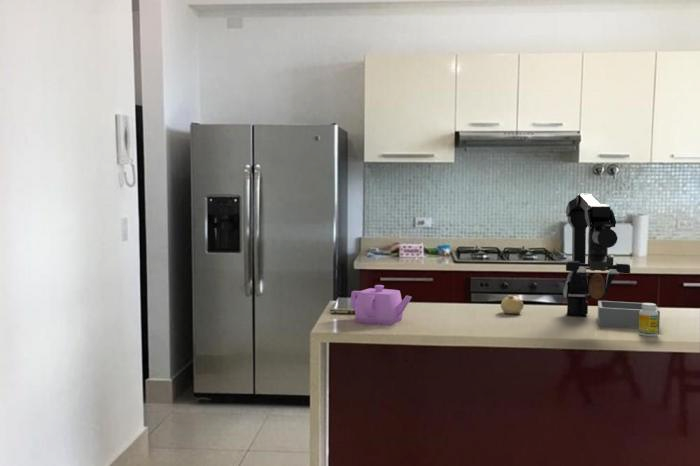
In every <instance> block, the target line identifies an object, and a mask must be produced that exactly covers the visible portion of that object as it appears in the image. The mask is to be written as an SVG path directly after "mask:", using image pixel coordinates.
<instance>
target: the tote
mask: <svg viewBox="0 0 700 466" xmlns="http://www.w3.org/2000/svg"><path fill="white" fill-rule="evenodd" d="M642 303H643V302H631V301H630V302H628V301H610V300H597V322H598V326H599V327H614V328H624V329H625V328H627V329H628V328H629V329H639V312H640V310H643V309H642ZM655 311H657V312H658V331H659V330H660V319H661V318H660V316H661V315H660V314H661V311H660V309H659V308H658V305H656V309H655Z"/></svg>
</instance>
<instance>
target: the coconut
mask: <svg viewBox="0 0 700 466" xmlns="http://www.w3.org/2000/svg"><path fill="white" fill-rule="evenodd" d="M605 288H606V281H605V278H603V276H602V275H601V274H600V273H595V274H593V275H592V276H590V281H589V284H588V291H589V294H590V296H591V298H593V299H595V300H599V299H601V298H602V297H603V296H604V295H605Z"/></svg>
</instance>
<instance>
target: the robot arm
mask: <svg viewBox="0 0 700 466" xmlns="http://www.w3.org/2000/svg"><path fill="white" fill-rule="evenodd" d="M565 216H566V218H567V222H568V224H569V225H570V227H571V229H572V230H571V231H572V234H571V237H572V240H571V250H572V251H571V260H567V261H566V263H565V271H566V272H569V273H568V274H567V276H566V281H565V283H564V287H563V290H562V293H563V297H564V298H565V299H567V303H566V304H567V306H566V308H567V309H566V310H567V311H566V316H570V317H571V316H572V317H575V316H576V317H587V315H588V313H589V301H587V299H589V300H591V298H592V297H591V296H590V294H589V291H588V284H589V281H590V279H591V276H590V274H589V273H588V272H587V270H589V271H593V272H594V271H601V272H606V271H607V276H606V281H605V293H604V295H606V296H607V294H608V292H609V289H610V287H611V284H612V282H613V280H614V279H615V277H616V276H617V277H618V276H619V274H631V265H630V264H629V263H628V262H618V261H617V262H615V264H614V255H613V254H608V249H609V248H612V247H614V246H615V245H616V244H617V243H618V235H617V233H616V232H615V231H614V230H613V229H612V228H616V224H617V219H616V216H615V214H614V210H613V209H612V208H611V206H610V205H609V204H604V203H600V202H599V201H597V200H596V199H595V197H594V195H593V194H592V193H578V194H576V196H575V198H573V199H571V200H570V201H568V203H567V205H566V209H565ZM587 228H588V238H587V236H586V234H587V232H586V231H587ZM586 238H587V239H588V241H587V239H586ZM586 243H588V244H587V245H586ZM586 247H587V248H586ZM586 249H588V250H586ZM586 251H587V252H586ZM586 253H587V254H586ZM586 257H587V259H586ZM586 261H587V262H586Z"/></svg>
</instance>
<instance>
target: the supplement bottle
mask: <svg viewBox="0 0 700 466" xmlns="http://www.w3.org/2000/svg"><path fill="white" fill-rule="evenodd" d="M641 303H642V309H643V310H640V312H639V328H638V334H639V335H641V336H643V337H657V336H658V334H659V333H658V332H659V330H658V312H657V311H655V309H656V306H657V304H656V303H653V302H641Z"/></svg>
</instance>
